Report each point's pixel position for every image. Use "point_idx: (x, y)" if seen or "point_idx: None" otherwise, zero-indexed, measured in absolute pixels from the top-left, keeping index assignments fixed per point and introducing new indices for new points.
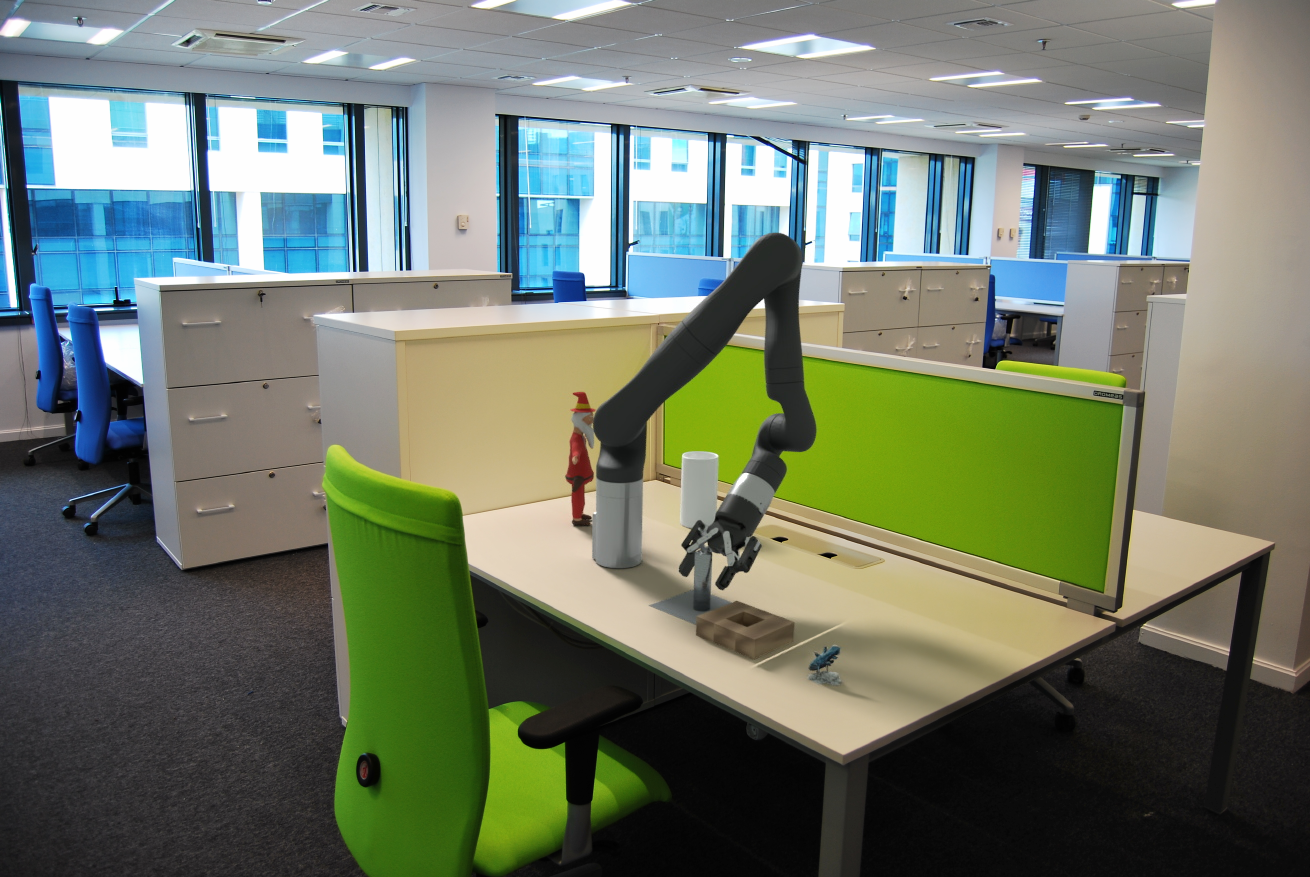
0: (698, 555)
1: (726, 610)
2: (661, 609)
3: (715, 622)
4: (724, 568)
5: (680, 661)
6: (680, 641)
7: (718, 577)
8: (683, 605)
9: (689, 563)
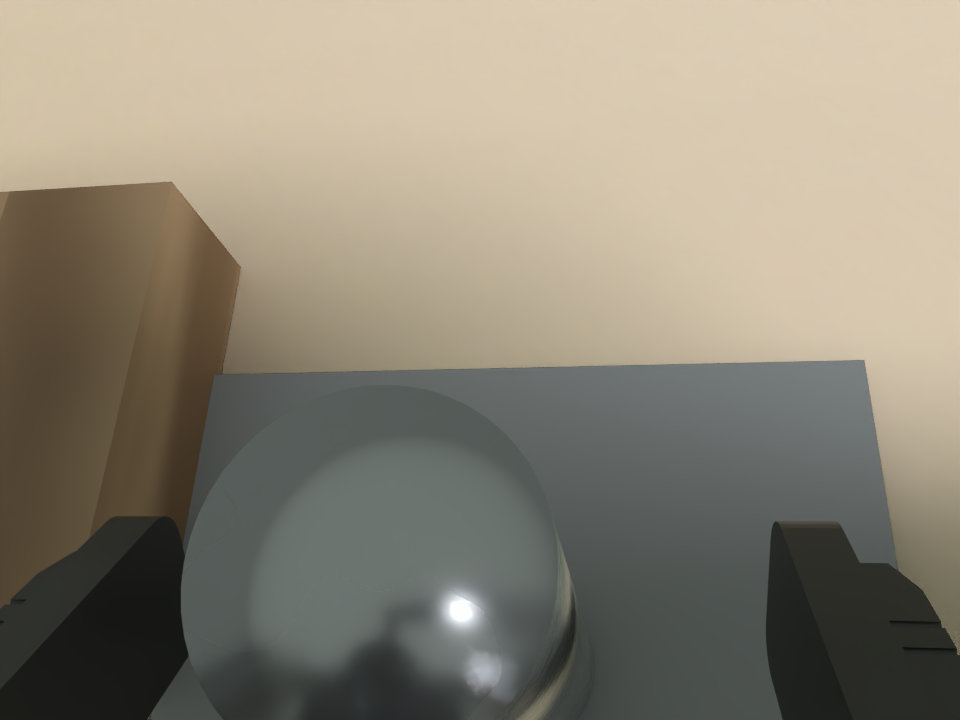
0: (361, 386)
1: (33, 429)
2: (722, 377)
3: (6, 207)
4: (4, 662)
5: (140, 28)
6: (276, 162)
7: (117, 559)
8: (670, 583)
9: (811, 693)
